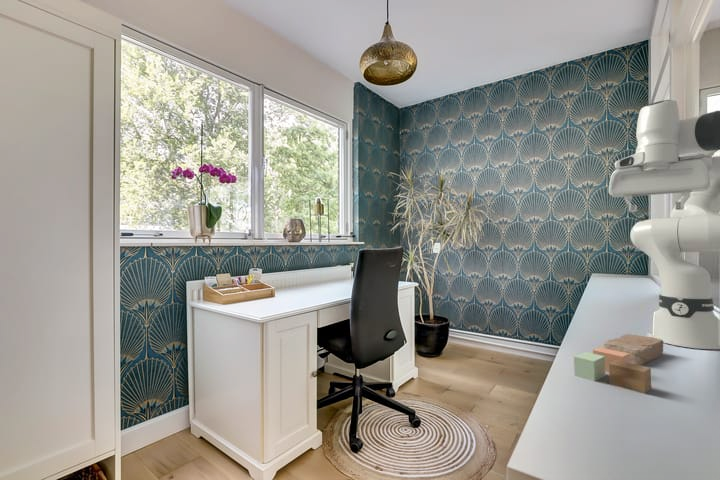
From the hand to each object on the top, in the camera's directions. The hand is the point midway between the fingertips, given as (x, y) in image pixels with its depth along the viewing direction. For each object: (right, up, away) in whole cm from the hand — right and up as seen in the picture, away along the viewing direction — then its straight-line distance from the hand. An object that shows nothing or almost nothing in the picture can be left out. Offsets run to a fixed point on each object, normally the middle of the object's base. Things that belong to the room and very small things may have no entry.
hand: (655, 210), depth 88 cm
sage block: (-26, -39, -12) cm, 48 cm away
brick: (-4, -40, +2) cm, 40 cm away
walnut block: (-21, -39, -18) cm, 48 cm away
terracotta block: (-18, -40, -8) cm, 44 cm away
